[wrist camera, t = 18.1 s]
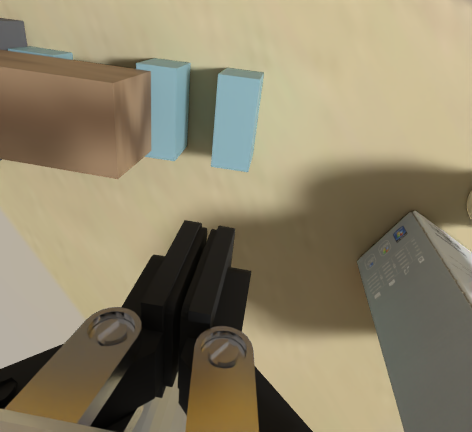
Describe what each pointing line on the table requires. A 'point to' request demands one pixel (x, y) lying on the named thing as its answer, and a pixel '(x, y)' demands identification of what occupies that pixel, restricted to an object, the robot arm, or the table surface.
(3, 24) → the block
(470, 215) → the beer glass
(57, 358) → the robot arm
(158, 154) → the block
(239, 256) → the table surface
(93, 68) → the slab
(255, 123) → the block
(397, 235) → the hard drive box
